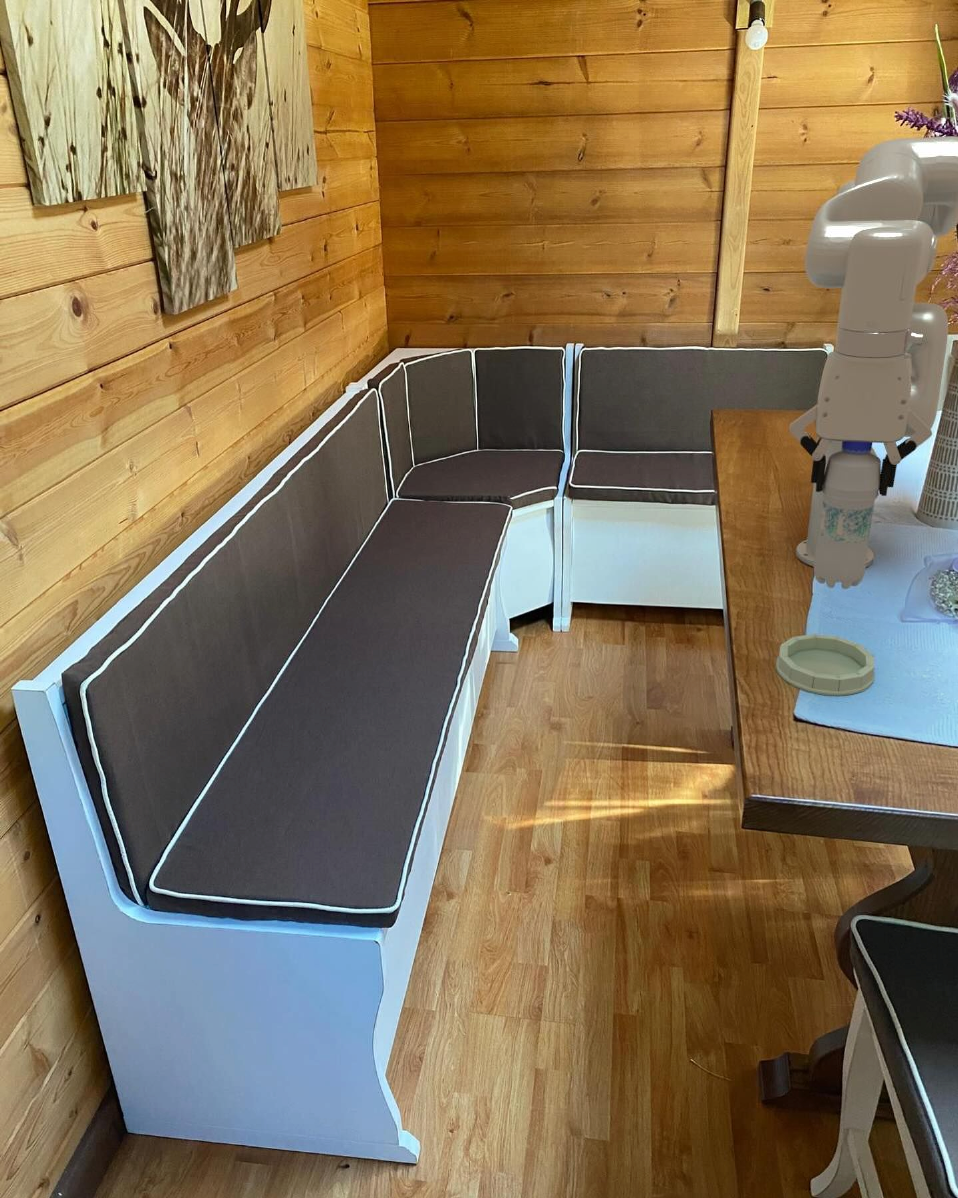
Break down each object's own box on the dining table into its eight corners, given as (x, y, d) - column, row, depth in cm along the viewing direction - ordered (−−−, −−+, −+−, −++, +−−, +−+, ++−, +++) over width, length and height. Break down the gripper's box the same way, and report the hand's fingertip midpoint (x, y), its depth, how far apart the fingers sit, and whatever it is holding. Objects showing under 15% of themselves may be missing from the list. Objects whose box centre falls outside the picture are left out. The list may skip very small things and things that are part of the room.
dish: (777, 643, 130) (779, 629, 129) (871, 654, 126) (873, 639, 125) (774, 688, 119) (776, 673, 118) (876, 701, 116) (879, 685, 115)
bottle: (821, 567, 121) (840, 421, 112) (872, 578, 117) (896, 428, 108) (801, 584, 116) (820, 434, 108) (854, 597, 113) (878, 442, 104)
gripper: (950, 338, 104) (923, 484, 112) (792, 336, 109) (777, 476, 117) (959, 351, 98) (930, 505, 105) (791, 348, 103) (775, 496, 111)
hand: (850, 489), depth 111 cm, fingers closed on bottle, 6 cm apart
